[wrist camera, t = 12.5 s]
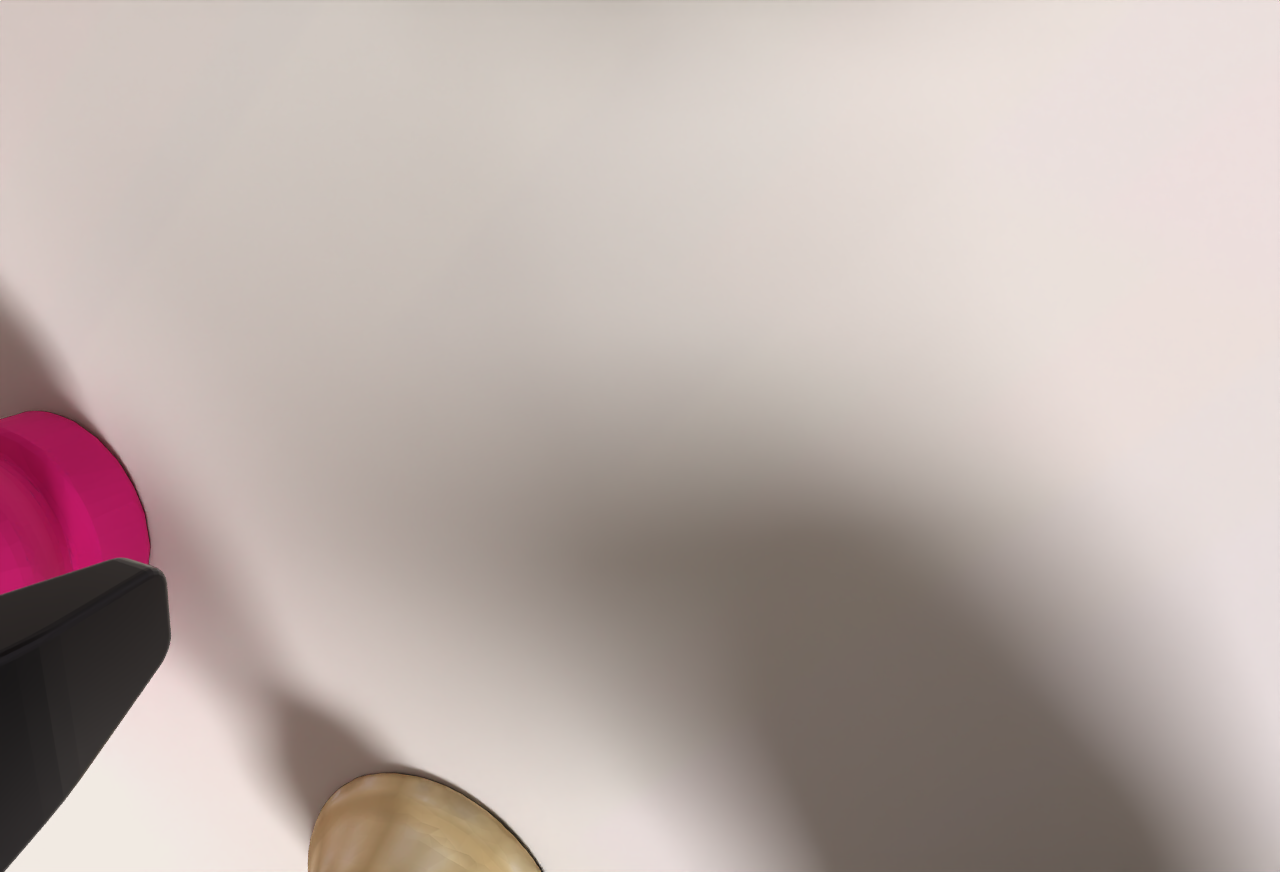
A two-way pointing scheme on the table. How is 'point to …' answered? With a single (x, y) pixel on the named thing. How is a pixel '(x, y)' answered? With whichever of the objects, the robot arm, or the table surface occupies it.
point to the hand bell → (410, 830)
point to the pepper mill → (62, 502)
